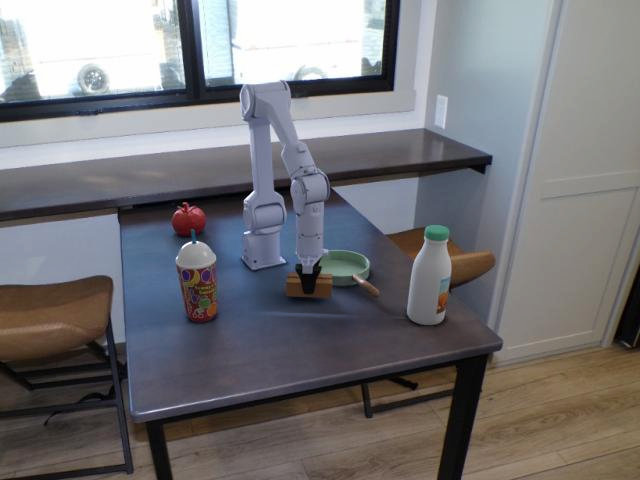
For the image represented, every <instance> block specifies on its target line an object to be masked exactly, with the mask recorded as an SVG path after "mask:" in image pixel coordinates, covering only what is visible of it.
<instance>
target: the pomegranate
mask: <svg viewBox="0 0 640 480" xmlns="http://www.w3.org/2000/svg"><path fill="white" fill-rule="evenodd" d="M182 205H183V206H184V207H181V206H177V210H176V212H174V214H173V216H172V219H171V225H172V228H173V231H174V232H175V233H176V234H177V235H178V236H182V237H192V234H191V230H192V229H194V232H195V235H198V234H200V233H202V232H203V231H204V230H205V227H206V225H207V217H206V214H205V213H204V211H203V210H202V209H201V208H198V207H199V206H198V205H193V206H191V207H190V204H188V202H182Z"/></svg>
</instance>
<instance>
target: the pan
mask: <svg viewBox="0 0 640 480" xmlns="http://www.w3.org/2000/svg"><path fill="white" fill-rule="evenodd" d="M318 266H322V270H321V272H320V274H333V276H332V286H335V287H347V286H354V285H358V284H357V283H356V282H355V281H353V279H352V276H353V275H354V274H358V275H360V276H361V277H362V278H363V279H365V280H367V279H368V277H370V270H371V268H370V267H371V262H370V260H369V258H368V257H366V256H365V255H364V254H361V253H359V252H356V251H351V250H346V249H330V250H329V249H328V255H326V256H323V257H322V259H321V260H320V263H319V265H318Z"/></svg>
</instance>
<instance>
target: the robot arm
mask: <svg viewBox="0 0 640 480" xmlns="http://www.w3.org/2000/svg"><path fill="white" fill-rule="evenodd" d="M240 89H241V90H240V92H239V103H240V104H239V105H240V114H241V120H242V122H243V121H244V122H246V123H247V124H248V136H249V137H248V138H249V149H250V158H251V159H250V161H251V173H252V185H253V191H252V192H251V193H250V194H249V195H248V196H247V197H245V199H244V200H243V210H242V211H243V212H242V219H243V223H244V224H243V225H244V226H245V228H246V229H247V230H248V231H245V232H243V233H242V234H241V250H242V256H241V259H242V261H243V262H244V263H245V264H246V265H247V266H248V267H249V269H250V270H252V271H256V270H260V269H262V268H267V267H268V268H269V267H272V266H277V265H281V264H286V263H287V261H286V260H285V258H283V257H282V256H281V234H280V233H281V231H280V230H282V229H283V226H284V225H285V224H286V222H287V218H288V214H287V209H286V206H285V200H284V197H283V196H282V195H281V194H280V193H279V192H277V191H275V185H274V184H275V183H274V169H273V168H274V167H273V155H272V153H273V152H272V139H271V128H272V129H273V131H274V133H275V136H276V137H277V138H278V140H279V142H280V145H281V146H282V148H283V149H282V151H281V154H280V157H281V160H282V162H283V165H284V167H285V169H286V171H287V174H288V176H289V179H290V181H291V185H290V195H291V198H292V205H293V210H294V212H295V228H296V229H295V244H296V245H295V252H294V253H295V256H296V258H297V259H298V261H299V262H300V263H295V266H294V270H295V273H297V274H298V276H299V278H300V280H301V284H302V289H303V293H304V294H313V293H314V290H315V285H316V280H317V278H318V275H319V274H320V272H321V270H322V266H318V265H319V263H320V260H321V259H322V257H323V256H326V255H328V251H329V249H328V248H324V219H325V216H324V215H325V201H327V200H329V198H330V195H331V184H330V180H329V178H328V176H327V174H326V173H325V172H323V171H322V170H321V168H319V167H317V166H316V163H315V161H314V159H313V157H312V154H311V152H310V149H309V147H308V145H307V144H306V143H305V142H304V141H300V139H299V136H298V134H297V130H296V127H295V124H294V122H293V118H292V114H291V111H290V108H291V104H292V93H291V89H290V85H289V84H288V82H287V81H286V80H285V79H279V80H274V81H273V80H271V81H262V82H260V81H259V82H250V83H249V82H245V83H243V85H242V87H241V88H240Z"/></svg>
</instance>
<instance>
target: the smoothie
mask: <svg viewBox="0 0 640 480" xmlns="http://www.w3.org/2000/svg"><path fill="white" fill-rule="evenodd" d="M191 234H192V236H191V241H189V242H187V243H185V244H184V245H183V246H182V247H181V248H180V249H179V251H178V253H177V256H176V257H175V261H174V262H175V265H176V271H177V275H178V280H179V285H180V291H181V295H182V299H183V305H184V310H185V314H186V315H187V316H188V318H189V319H190V320H191V321H193V322H197V323H205V322H208V321H211V320H212V319H214V318H215V316H216V313H217V311H218V286H217V284H218V283H217V282H218V281H217V255H216V254H215V253H214V251H213V250H212V248H211V247H210V246H209V245H208V244H206V243H205V242H202V241H197V240H196V234H195V232H194V229H192V230H191Z"/></svg>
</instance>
